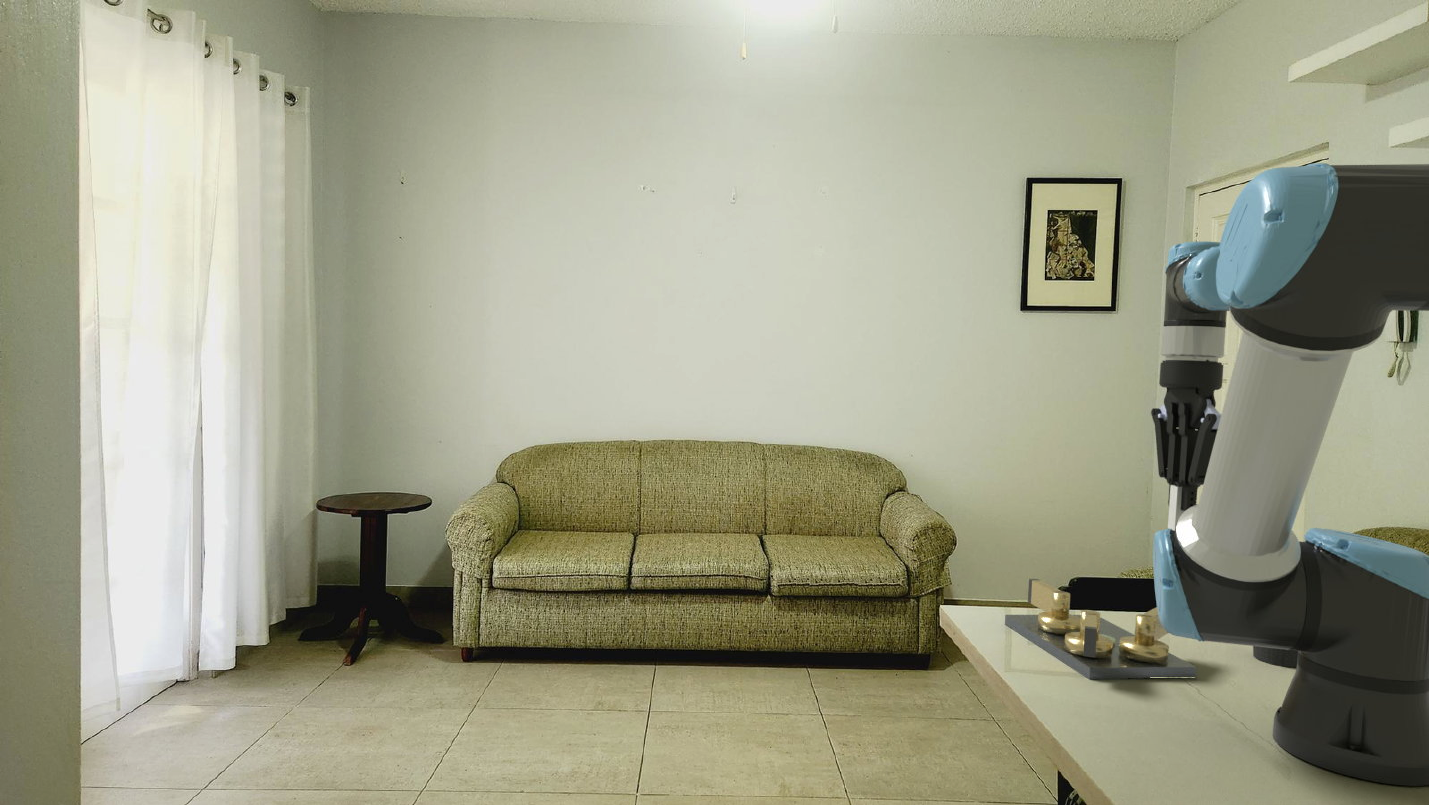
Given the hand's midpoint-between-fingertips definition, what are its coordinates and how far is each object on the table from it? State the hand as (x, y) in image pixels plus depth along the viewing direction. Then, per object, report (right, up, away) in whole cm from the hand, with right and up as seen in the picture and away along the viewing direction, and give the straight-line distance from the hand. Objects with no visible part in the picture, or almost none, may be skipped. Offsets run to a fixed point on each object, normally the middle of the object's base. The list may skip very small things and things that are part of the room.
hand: (1180, 533), depth 125 cm
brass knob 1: (-13, -15, +13) cm, 24 cm away
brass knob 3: (-4, -16, +1) cm, 17 cm away
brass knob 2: (-13, -16, -3) cm, 21 cm away
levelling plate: (-9, -17, +7) cm, 21 cm away
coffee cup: (+17, -19, +5) cm, 26 cm away
